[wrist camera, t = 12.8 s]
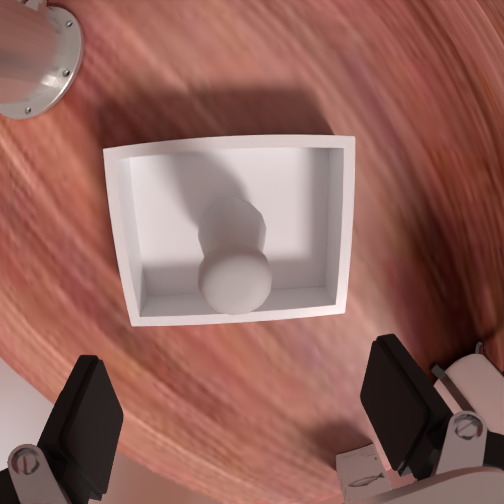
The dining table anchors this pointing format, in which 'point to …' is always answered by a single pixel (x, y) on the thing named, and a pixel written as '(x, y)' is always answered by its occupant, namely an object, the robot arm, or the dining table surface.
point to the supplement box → (361, 474)
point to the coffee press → (473, 387)
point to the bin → (227, 187)
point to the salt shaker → (233, 257)
